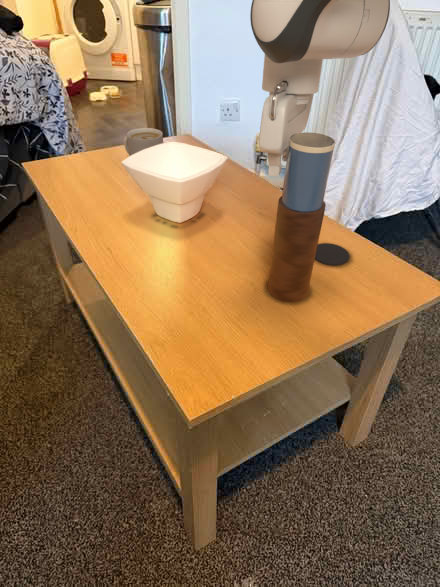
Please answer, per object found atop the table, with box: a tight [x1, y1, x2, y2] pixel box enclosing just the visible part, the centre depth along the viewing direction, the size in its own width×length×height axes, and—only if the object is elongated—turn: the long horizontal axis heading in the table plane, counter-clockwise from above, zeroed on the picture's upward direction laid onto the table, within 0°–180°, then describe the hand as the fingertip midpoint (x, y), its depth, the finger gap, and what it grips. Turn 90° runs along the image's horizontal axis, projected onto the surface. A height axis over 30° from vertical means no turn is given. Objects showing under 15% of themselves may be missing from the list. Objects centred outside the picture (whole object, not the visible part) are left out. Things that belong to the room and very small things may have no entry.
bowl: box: [121, 140, 229, 224], centre depth 95 cm, size 19×19×14 cm
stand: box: [267, 195, 327, 303], centre depth 72 cm, size 8×8×18 cm
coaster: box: [314, 242, 350, 267], centre depth 87 cm, size 8×8×1 cm
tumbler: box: [281, 132, 336, 212], centre depth 63 cm, size 7×7×10 cm
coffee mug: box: [123, 127, 164, 157], centre depth 119 cm, size 13×10×10 cm
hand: (281, 167), depth 71 cm, fingers open, 8 cm apart
